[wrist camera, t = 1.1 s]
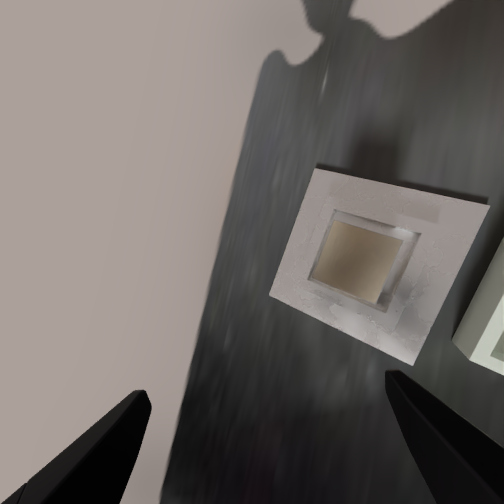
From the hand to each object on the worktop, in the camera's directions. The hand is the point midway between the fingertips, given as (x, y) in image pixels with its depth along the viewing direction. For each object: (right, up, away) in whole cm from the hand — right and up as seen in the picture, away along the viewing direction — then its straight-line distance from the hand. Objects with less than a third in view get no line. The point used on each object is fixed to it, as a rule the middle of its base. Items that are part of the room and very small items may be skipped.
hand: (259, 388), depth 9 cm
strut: (+10, +4, +13) cm, 17 cm away
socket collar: (+10, +4, +14) cm, 18 cm away
